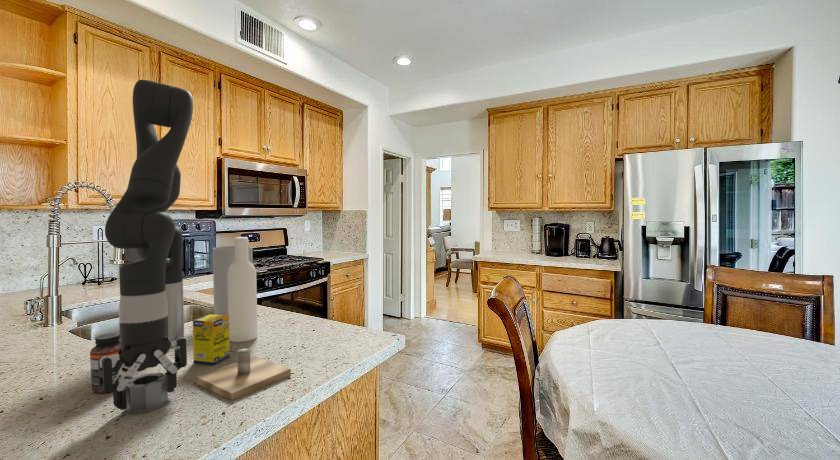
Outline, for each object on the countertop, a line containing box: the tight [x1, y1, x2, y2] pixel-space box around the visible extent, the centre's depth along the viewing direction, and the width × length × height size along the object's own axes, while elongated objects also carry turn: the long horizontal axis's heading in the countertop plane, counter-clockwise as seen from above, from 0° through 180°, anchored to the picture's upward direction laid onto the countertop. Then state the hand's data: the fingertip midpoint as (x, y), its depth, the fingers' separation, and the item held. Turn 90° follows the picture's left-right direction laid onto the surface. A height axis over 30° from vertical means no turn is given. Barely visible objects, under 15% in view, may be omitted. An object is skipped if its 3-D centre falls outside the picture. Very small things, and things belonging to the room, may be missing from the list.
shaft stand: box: [195, 348, 292, 401], centre depth 84 cm, size 14×14×6 cm
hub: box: [124, 372, 169, 415], centre depth 73 cm, size 6×6×5 cm
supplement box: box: [192, 313, 231, 366], centre depth 95 cm, size 6×6×11 cm
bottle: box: [227, 236, 259, 343], centre depth 111 cm, size 8×8×30 cm
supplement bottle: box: [89, 332, 124, 394], centre depth 80 cm, size 6×6×11 cm
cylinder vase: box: [212, 245, 254, 315], centre depth 133 cm, size 12×12×25 cm
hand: (146, 399), depth 73 cm, fingers open, 7 cm apart
